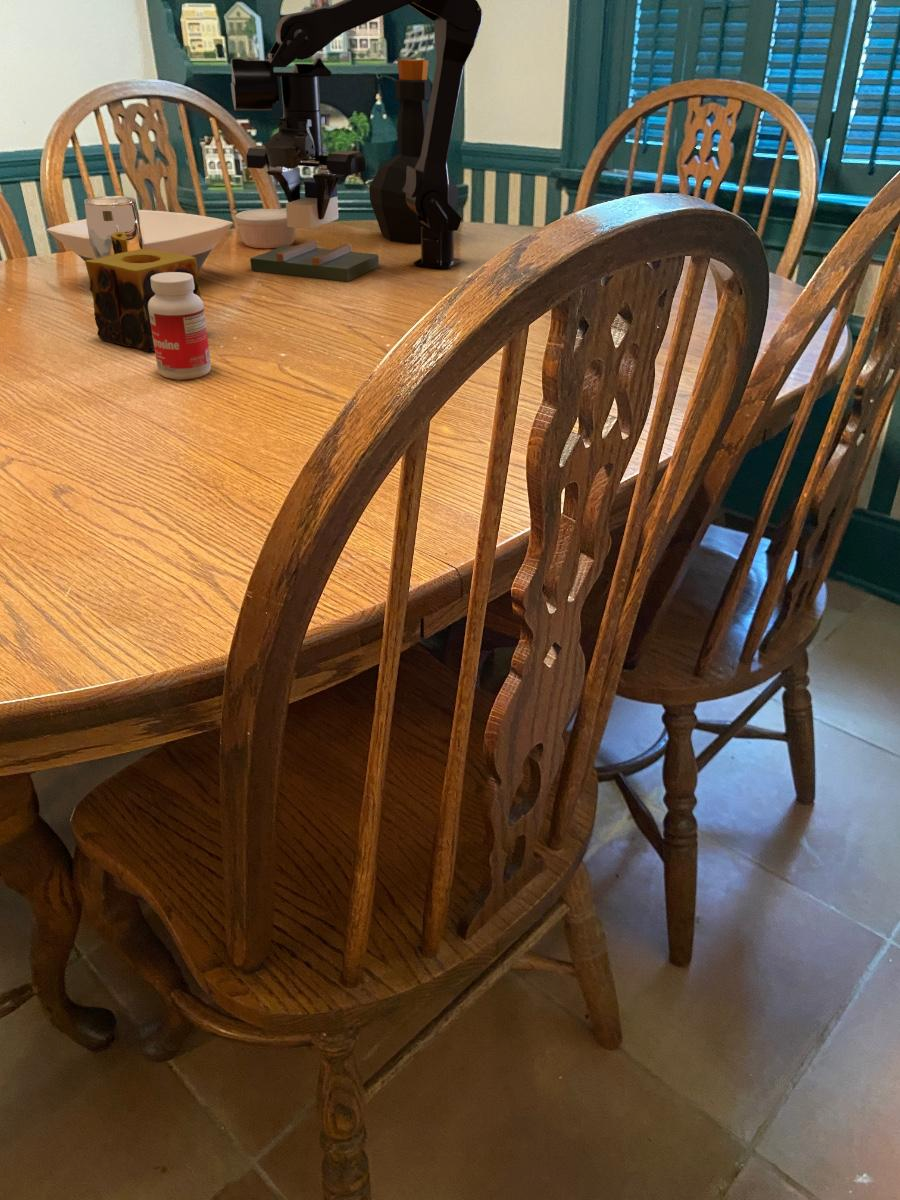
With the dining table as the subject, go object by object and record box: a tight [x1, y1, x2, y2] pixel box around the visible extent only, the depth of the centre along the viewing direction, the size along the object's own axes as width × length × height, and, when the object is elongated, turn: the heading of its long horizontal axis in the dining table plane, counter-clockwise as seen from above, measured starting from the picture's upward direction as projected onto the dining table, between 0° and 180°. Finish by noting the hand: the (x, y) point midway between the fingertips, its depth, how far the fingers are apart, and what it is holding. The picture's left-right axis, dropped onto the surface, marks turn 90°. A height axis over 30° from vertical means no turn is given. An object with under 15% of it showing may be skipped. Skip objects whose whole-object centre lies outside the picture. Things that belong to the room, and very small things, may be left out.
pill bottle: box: [148, 272, 212, 381], centre depth 105 cm, size 6×6×11 cm
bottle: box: [368, 58, 459, 243], centre depth 170 cm, size 16×16×30 cm
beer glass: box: [83, 195, 144, 259], centre depth 125 cm, size 7×7×15 cm
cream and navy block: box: [285, 178, 339, 230], centre depth 148 cm, size 10×4×6 cm, turn 159°
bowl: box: [46, 209, 234, 274], centre depth 142 cm, size 22×23×8 cm
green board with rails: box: [249, 239, 379, 283], centre depth 153 cm, size 12×18×3 cm, turn 69°
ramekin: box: [234, 208, 297, 249], centre depth 169 cm, size 11×11×5 cm
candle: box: [84, 249, 202, 353], centre depth 117 cm, size 10×10×10 cm
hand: (308, 218), depth 148 cm, fingers closed on cream and navy block, 4 cm apart
